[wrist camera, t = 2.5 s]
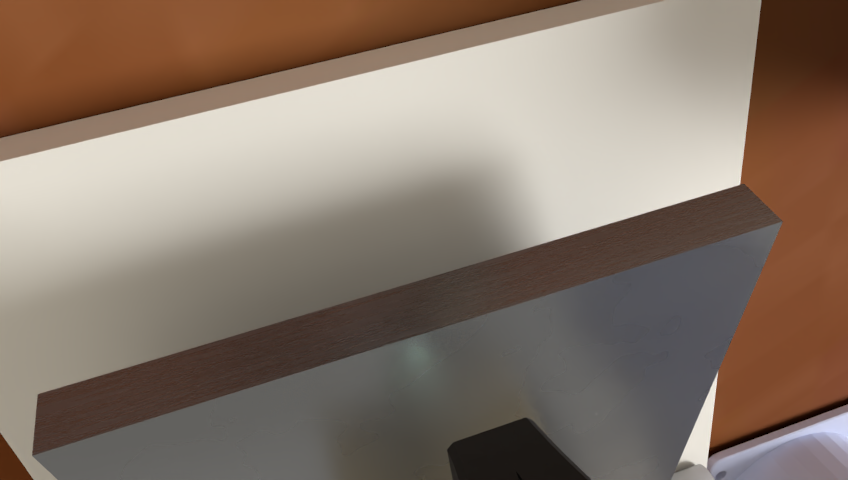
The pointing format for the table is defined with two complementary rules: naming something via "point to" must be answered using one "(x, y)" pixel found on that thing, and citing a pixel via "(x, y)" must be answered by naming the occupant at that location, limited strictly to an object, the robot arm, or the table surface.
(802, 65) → the table surface
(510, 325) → the plate
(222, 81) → the table surface
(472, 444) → the robot arm
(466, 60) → the base board
